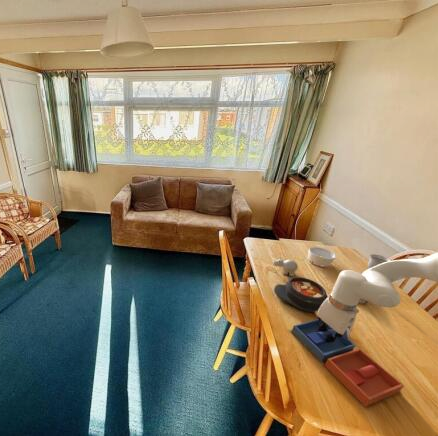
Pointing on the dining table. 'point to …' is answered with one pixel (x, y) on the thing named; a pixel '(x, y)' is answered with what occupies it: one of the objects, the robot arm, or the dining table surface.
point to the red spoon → (362, 374)
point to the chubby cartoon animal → (287, 266)
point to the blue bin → (322, 350)
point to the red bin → (373, 386)
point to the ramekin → (320, 260)
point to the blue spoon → (319, 336)
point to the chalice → (376, 260)
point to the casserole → (302, 293)
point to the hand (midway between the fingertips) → (325, 336)
